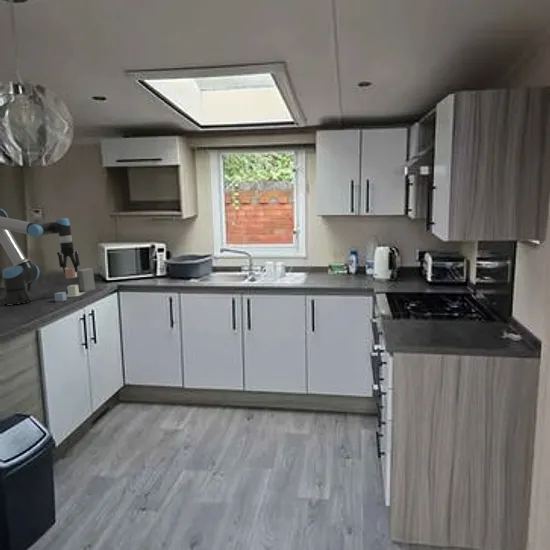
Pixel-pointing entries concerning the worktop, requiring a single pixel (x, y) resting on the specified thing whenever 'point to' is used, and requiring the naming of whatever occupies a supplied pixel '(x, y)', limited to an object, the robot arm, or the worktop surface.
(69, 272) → the brick
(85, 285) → the skincare box
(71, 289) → the brick
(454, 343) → the worktop surface
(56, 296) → the brick
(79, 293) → the baseplate
